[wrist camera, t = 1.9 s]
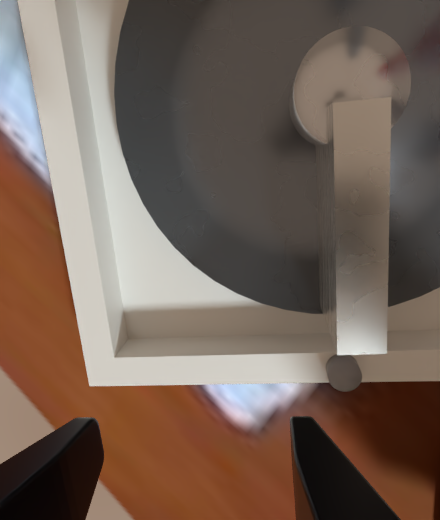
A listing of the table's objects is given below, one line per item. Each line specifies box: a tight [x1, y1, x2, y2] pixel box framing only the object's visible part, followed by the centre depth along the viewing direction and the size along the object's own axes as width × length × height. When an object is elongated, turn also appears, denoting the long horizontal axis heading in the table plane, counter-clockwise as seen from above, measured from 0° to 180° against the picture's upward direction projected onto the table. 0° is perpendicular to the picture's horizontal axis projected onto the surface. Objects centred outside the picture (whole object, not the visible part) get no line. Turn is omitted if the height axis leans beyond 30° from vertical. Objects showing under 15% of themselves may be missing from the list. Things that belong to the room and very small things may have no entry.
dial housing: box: [17, 0, 440, 392], centre depth 16 cm, size 24×24×4 cm
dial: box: [114, 0, 440, 355], centre depth 14 cm, size 18×18×6 cm
